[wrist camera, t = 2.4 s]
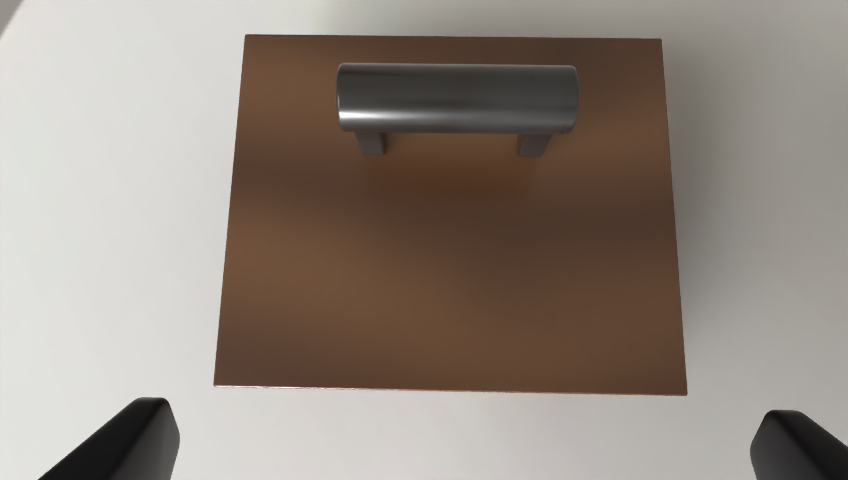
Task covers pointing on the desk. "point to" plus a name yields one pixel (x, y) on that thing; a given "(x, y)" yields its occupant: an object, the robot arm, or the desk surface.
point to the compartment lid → (452, 217)
